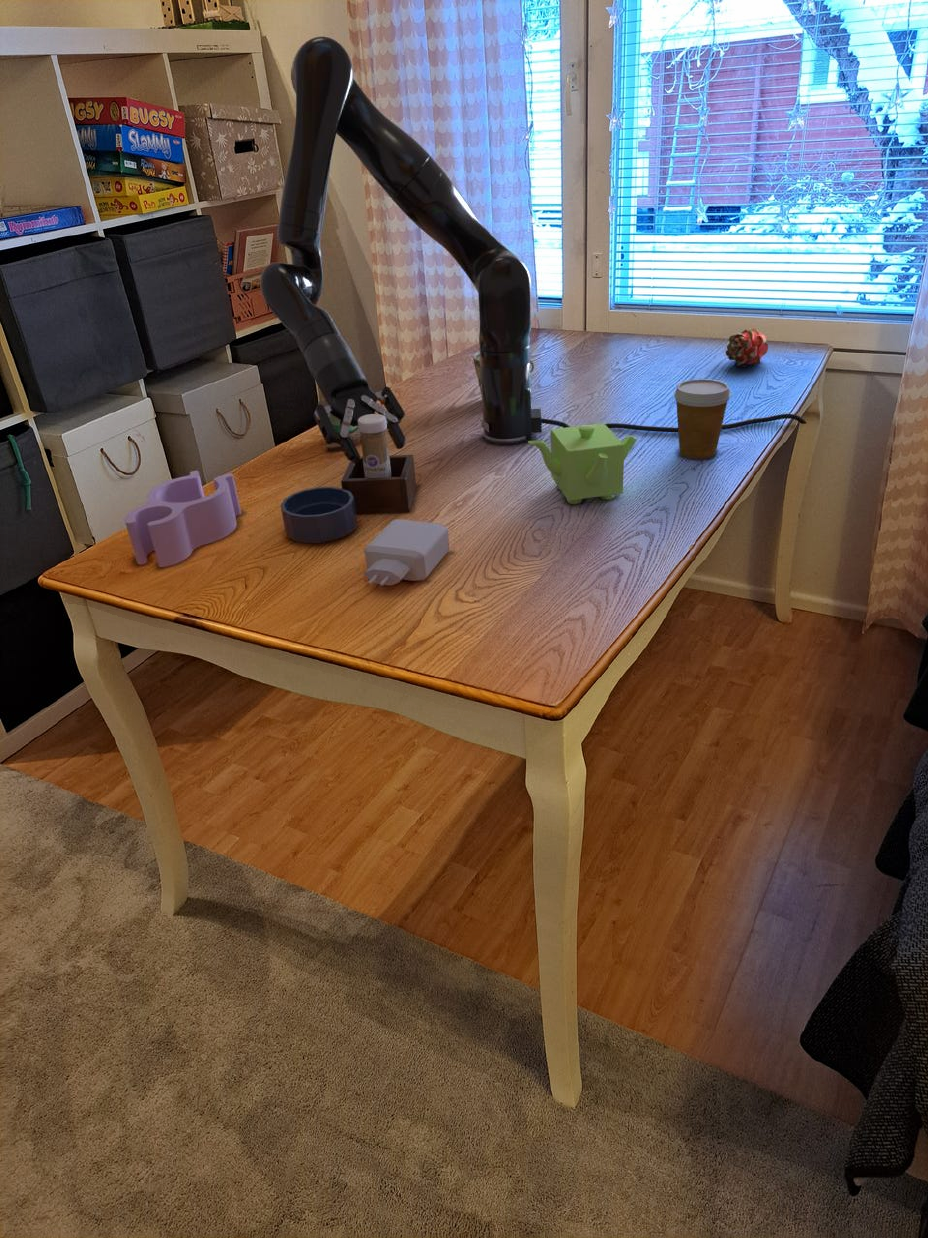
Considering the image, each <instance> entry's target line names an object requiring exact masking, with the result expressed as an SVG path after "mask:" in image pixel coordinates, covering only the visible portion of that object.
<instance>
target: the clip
mask: <svg viewBox="0 0 928 1238" xmlns="http://www.w3.org/2000/svg"><path fill="white" fill-rule="evenodd" d="M212 479H213V484H214V488H215V491H214V492H211V494H209V495H205V493H204V492H205V491H204V489H203V484H202V480H201V475H200V472H199V470H192V471H190V472H189V475H184V476H180V477H176V478H171V479H169V480H166V481H164V482H161V483H159V484H158V485H156V486H154V487H153V488H152V489H150V491H149V492H148V493H147V495H146V499H147V501H146V502H145V503H144V504H143V505H141V506H138V507H136V508H134V509H133V510H131V511H129V512H128V513H127V514H126V515H125V516H124V523H125V526H126V530H127V533H128V537H129V539H130V540H129V541H130V543H131V546H132V550H133V554H134V557H135V561H136V563H137V564H138V565H139V566H142V565H146V564H147V563H148V555H150V554H151V553H153V552H154V553H155V556H156V557H155V558H156V561H157V564H158V567H159V568H166V567H170V566H173V565H176V564H179V563H182V562H183V561H185V560H186V559H188V558H189V557H190V556H191V555H192V553H193V551H194V550H196V549H197V548H199V547H202V546H205V545H208V544H211V543H214V542H218V541H219V540H222V539H224V538H226V537H227V536H229V535H230V534H232V533H233V532H234V531H235V529H236V528H237V525H238V523H237V518H236V517H237V516H238V517H239V516H241V515H242V511H241V506H240V499H239V496H238V492H237V487H236V482H235V478H234V473H226V474H222V475H219V476H216V477H214V478H212Z"/></svg>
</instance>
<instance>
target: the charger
mask: <svg viewBox="0 0 928 1238" xmlns="http://www.w3.org/2000/svg"><path fill="white" fill-rule="evenodd" d="M450 549H451V548H450V537H449V529H448V527H447V526H445V525H444V524H442V523H437V522H430V521H429V522H428V521H427V522H426V521H419V520H418V521H417V520H411V519H401V518H400V519H398V518H397V519H393V520H391V522H389V523H388V524H387V525H386V526H385V527H384V528H383V529H382V530H381V531H380V532H379V533H378V534H377V535H376V536H375V537H374V538H373V539H372V540H371V541H370V542H369V543H368V544H367V545H366V546H365V547H364V549H363V551H364V556H365V558H364V559H365V565H366V571H364V573H363V576H364V577H365V578H366V579H367V580H369V581H368V582H367V584H369V585H372V584H373V583H374V584H378V585H380V587H381V586H382V587H383V586H384V585H385V586H393V585H396V584H399V583H400V582H401V581H402V580H405V581H413V582H416V581H417V582H419V581H424V580H426V578H427V577H428V576H429V575H430V574H431V573H432V571H434V569H435V568H436V566H438V564H439V563H440V562H441V561H442V559H443V558H444V557H445V556H446V555H447V553H448V552H450Z"/></svg>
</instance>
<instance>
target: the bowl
mask: <svg viewBox="0 0 928 1238" xmlns="http://www.w3.org/2000/svg"><path fill="white" fill-rule="evenodd" d="M280 510H281V511H280V512H281V516H282V521H283V527H284V532H285V534H286V536H287V537H288V538H289V539H291V540H293V541H295V542H300V543H307V544H322V543H328V542H333V541H336V540H339V539H341V538H343V537H346V536H348V535H349V534H350V533H351V532H353V531H355V529H356V527H357V524H358V516H357V515H358V514H356V508H355V501H354V497H353V495H352V493H351V492H350V491H347V490H345V489H343V488H342V487H337V486H316V487H311V488H305V489H302V490H299V491H296V492H294V493H291V494H290V495H289V496H287V497H285V498H284V499H283V500H282V502H281V504H280Z"/></svg>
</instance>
